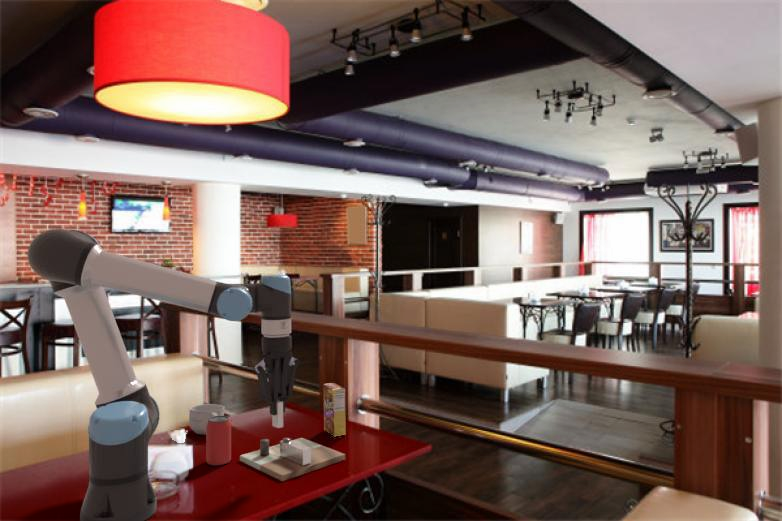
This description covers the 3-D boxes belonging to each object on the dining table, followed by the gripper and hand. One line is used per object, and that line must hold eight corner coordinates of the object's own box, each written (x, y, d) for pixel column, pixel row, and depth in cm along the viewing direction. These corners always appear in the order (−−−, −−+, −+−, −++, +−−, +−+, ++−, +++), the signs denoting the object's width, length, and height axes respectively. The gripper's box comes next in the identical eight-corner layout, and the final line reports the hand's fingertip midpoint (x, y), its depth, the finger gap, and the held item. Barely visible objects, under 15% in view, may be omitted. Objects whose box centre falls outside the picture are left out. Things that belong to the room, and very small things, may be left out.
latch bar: (279, 456, 155) (279, 438, 155) (287, 453, 157) (287, 436, 157) (303, 466, 148) (302, 448, 148) (310, 463, 150) (310, 445, 150)
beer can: (223, 467, 151) (223, 422, 151) (201, 465, 153) (201, 421, 153) (235, 458, 158) (235, 415, 158) (213, 456, 159) (213, 414, 159)
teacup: (187, 429, 184) (187, 404, 184) (222, 424, 189) (222, 401, 188) (192, 442, 171) (191, 416, 171) (228, 437, 176) (228, 411, 176)
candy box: (322, 430, 183) (322, 383, 183) (335, 428, 185) (335, 382, 185) (333, 438, 175) (333, 389, 175) (346, 436, 177) (346, 388, 177)
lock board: (282, 481, 142) (282, 459, 142) (240, 460, 156) (240, 440, 156) (345, 459, 157) (345, 439, 157) (301, 442, 171) (301, 424, 171)
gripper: (263, 339, 138) (264, 435, 138) (306, 333, 147) (307, 423, 148) (246, 336, 143) (247, 429, 144) (288, 331, 153) (290, 418, 153)
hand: (277, 426), depth 146 cm, fingers closed
